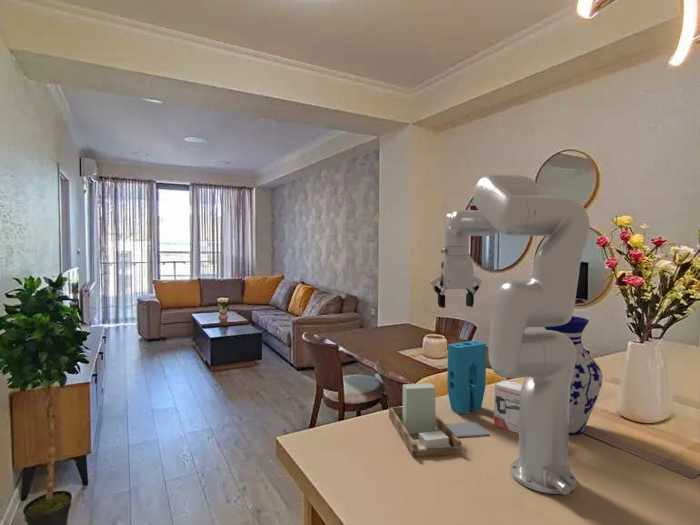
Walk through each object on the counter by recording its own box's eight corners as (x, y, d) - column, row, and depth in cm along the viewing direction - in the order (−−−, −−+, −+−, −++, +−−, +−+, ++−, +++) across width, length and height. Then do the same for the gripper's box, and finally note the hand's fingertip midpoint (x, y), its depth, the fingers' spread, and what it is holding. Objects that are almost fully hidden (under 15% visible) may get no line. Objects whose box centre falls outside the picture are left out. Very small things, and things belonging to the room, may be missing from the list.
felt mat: (489, 435, 107) (489, 433, 107) (449, 438, 106) (449, 436, 106) (476, 423, 115) (476, 422, 115) (439, 425, 113) (439, 424, 113)
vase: (610, 447, 101) (613, 326, 100) (526, 435, 108) (529, 321, 107) (592, 417, 119) (594, 315, 118) (521, 409, 126) (523, 311, 125)
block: (474, 402, 130) (475, 340, 130) (486, 408, 126) (487, 343, 125) (445, 409, 124) (446, 344, 124) (457, 415, 120) (458, 348, 119)
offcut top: (448, 445, 99) (448, 437, 99) (425, 448, 97) (426, 440, 97) (440, 438, 103) (440, 430, 103) (418, 441, 101) (418, 433, 101)
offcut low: (451, 455, 98) (451, 447, 98) (419, 457, 97) (419, 449, 97) (443, 445, 103) (444, 437, 103) (413, 447, 102) (413, 439, 102)
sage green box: (434, 431, 109) (435, 387, 109) (405, 433, 108) (406, 388, 108) (430, 426, 113) (431, 383, 112) (402, 428, 112) (402, 384, 111)
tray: (460, 454, 98) (460, 441, 97) (412, 457, 96) (413, 444, 96) (428, 415, 120) (428, 405, 120) (389, 417, 119) (389, 407, 118)
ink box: (493, 425, 114) (493, 383, 113) (501, 420, 117) (502, 379, 117) (523, 435, 108) (524, 391, 107) (531, 430, 111) (532, 386, 111)
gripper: (436, 252, 123) (436, 309, 124) (487, 252, 128) (486, 307, 128) (426, 252, 130) (425, 306, 131) (474, 252, 135) (473, 304, 135)
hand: (455, 306), depth 130 cm, fingers open, 9 cm apart
